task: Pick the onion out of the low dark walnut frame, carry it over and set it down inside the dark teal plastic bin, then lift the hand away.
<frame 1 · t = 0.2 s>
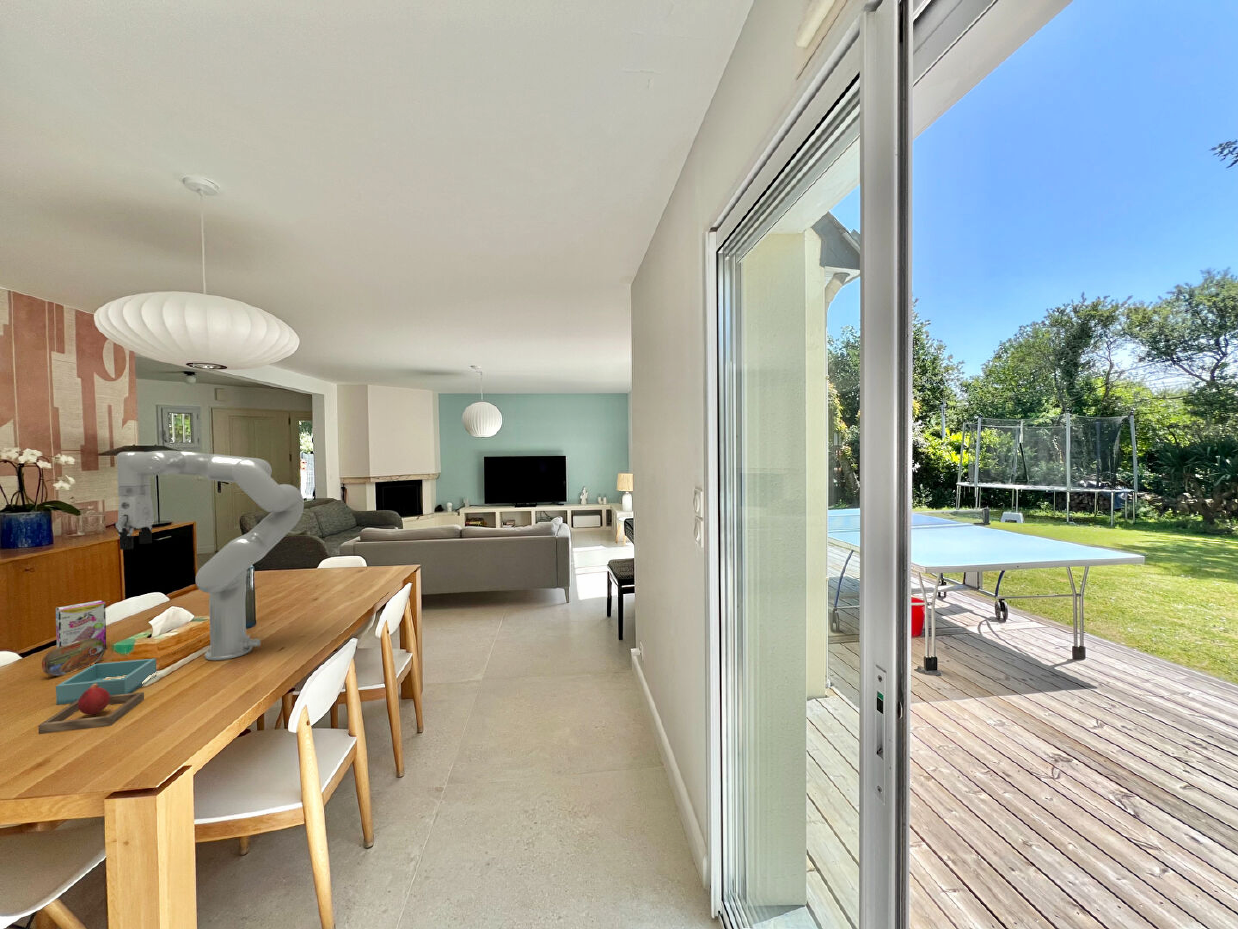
hand: (136, 546, 170), 37 cm above the table, tool pointing down, fingers open, 9 cm apart
candy bar box: (82, 655, 178), on the table
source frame: (94, 715, 137), on the table
tin: (74, 670, 166), on the table
bin: (109, 689, 152), on the table
onion: (94, 716, 137), resting in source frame
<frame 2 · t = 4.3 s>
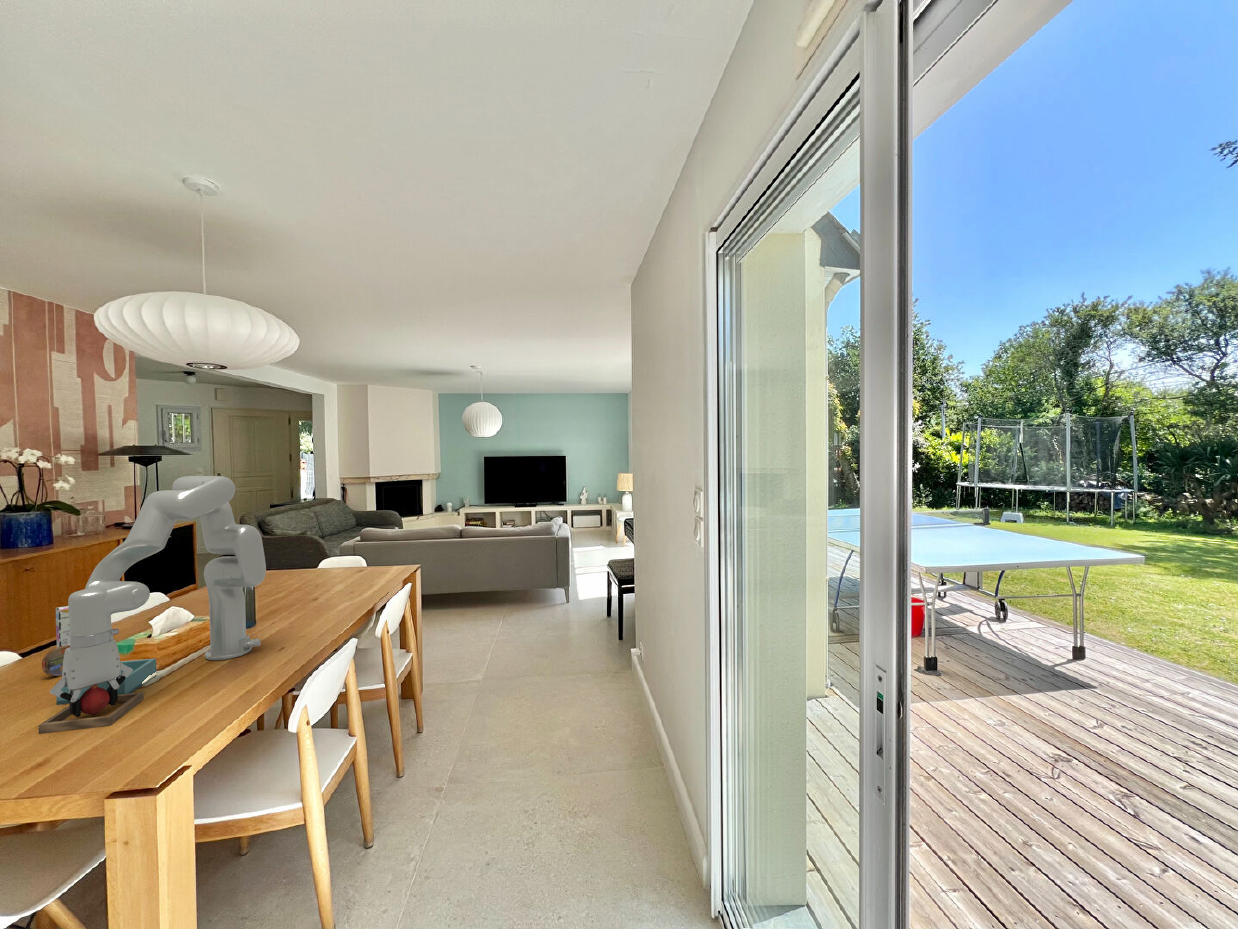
hand: (94, 709, 137), 2 cm above the table, tool pointing down, fingers closed on onion, 5 cm apart
onion: (94, 716, 137), resting in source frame, touching gripper
everything else where it was.
when the fingers open (5 cm above the table, at t = 10.6 s): onion drops 2 cm, resting on bin.
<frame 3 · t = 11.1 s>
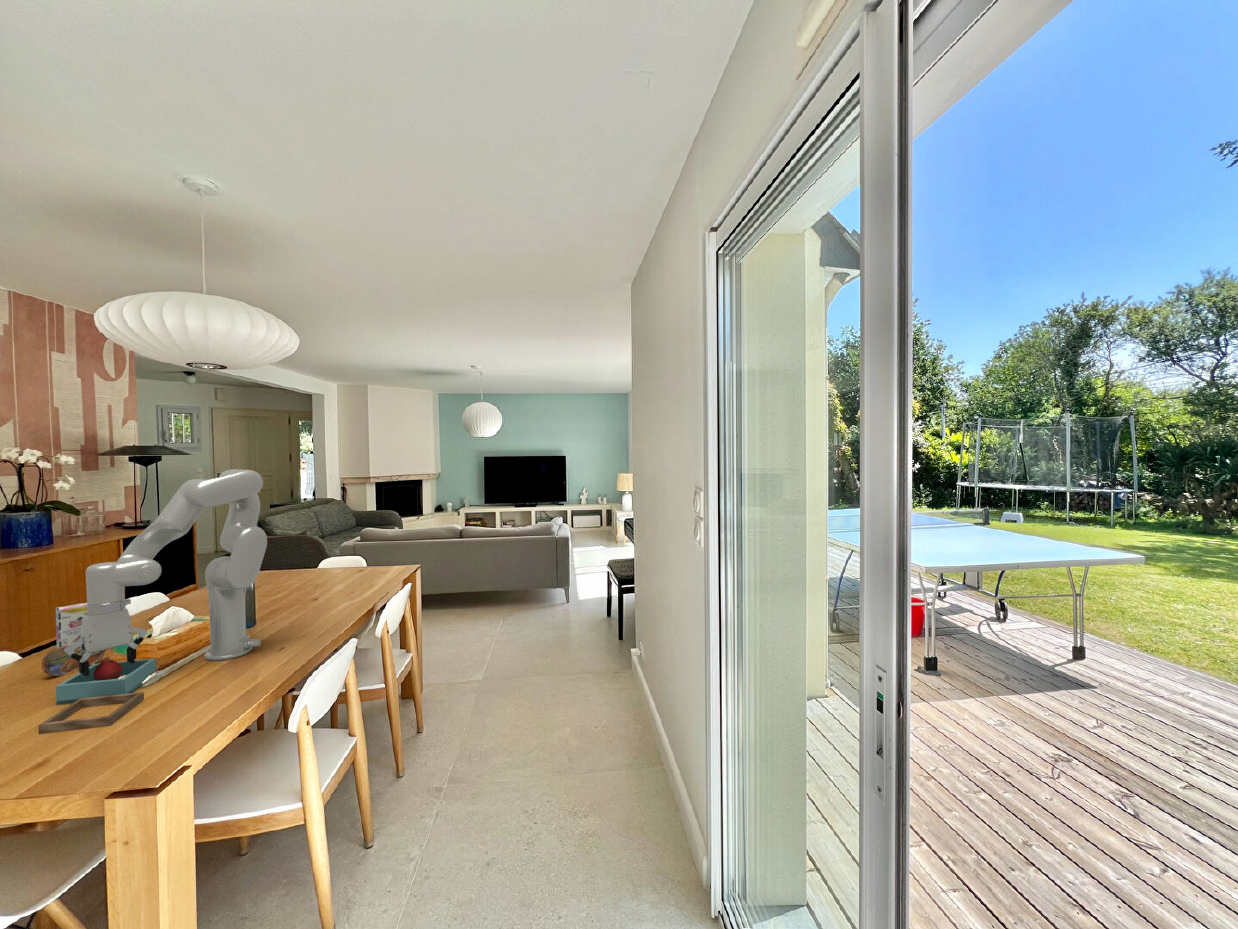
hand: (108, 668, 152), 6 cm above the table, tool pointing down, fingers open, 9 cm apart
onion: (110, 685, 152), point 1 cm above the table, touching bin
everything else where it was.
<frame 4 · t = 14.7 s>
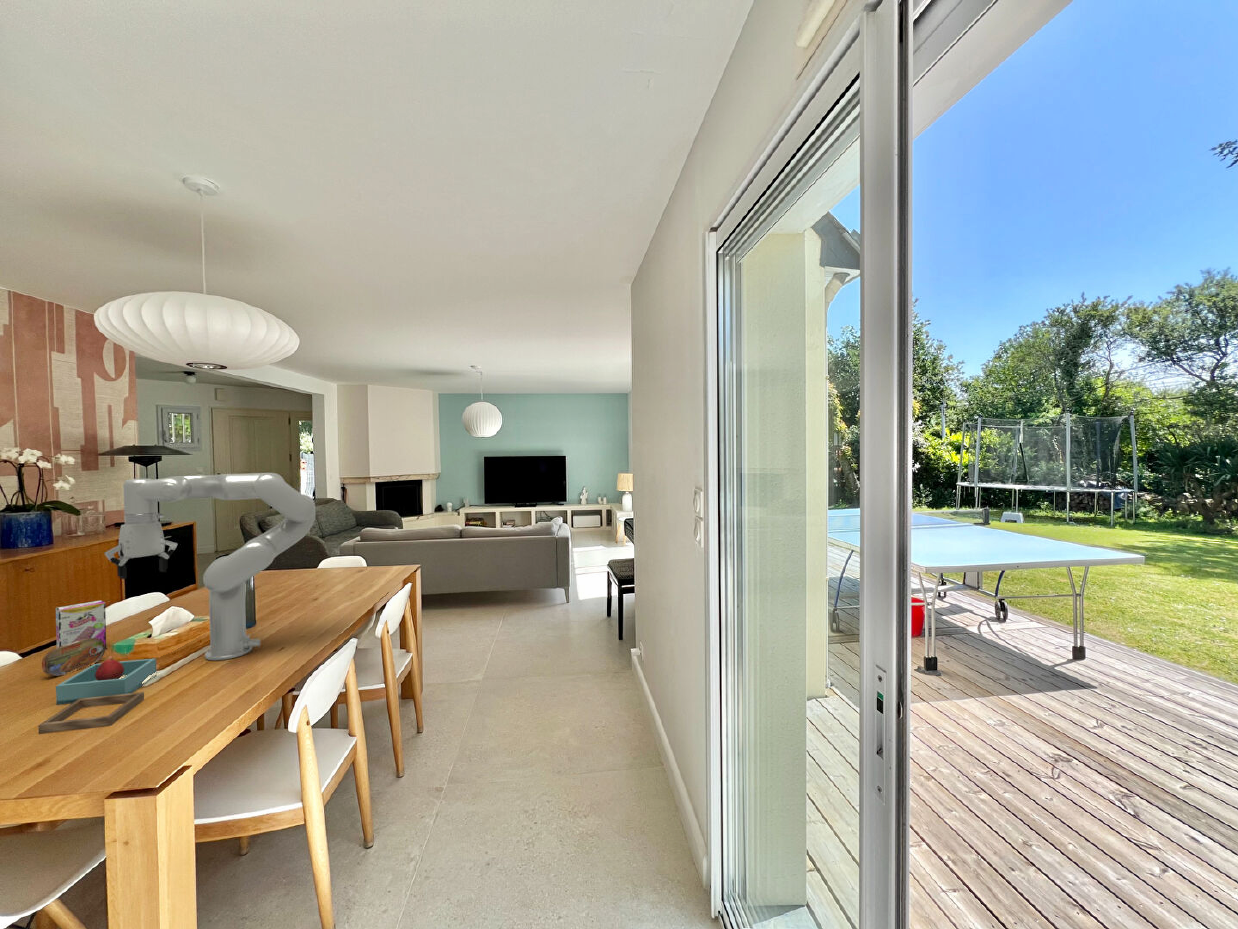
hand: (143, 575, 167), 28 cm above the table, tool pointing down, fingers open, 9 cm apart
nothing on the table moved.
at the end: onion inside the target area on the bin (0.1 cm from its centre), point 0.8 cm above the bin's base; the gripper is holding nothing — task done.
